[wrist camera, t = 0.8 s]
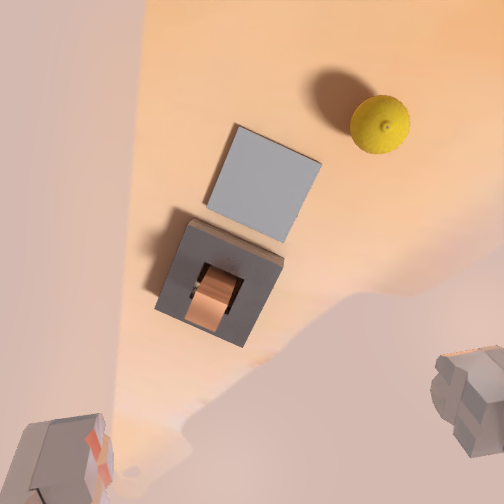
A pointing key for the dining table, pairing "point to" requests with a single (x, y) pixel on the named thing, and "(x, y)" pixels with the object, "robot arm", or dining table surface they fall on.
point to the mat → (262, 184)
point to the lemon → (379, 124)
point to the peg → (211, 298)
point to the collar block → (230, 260)
